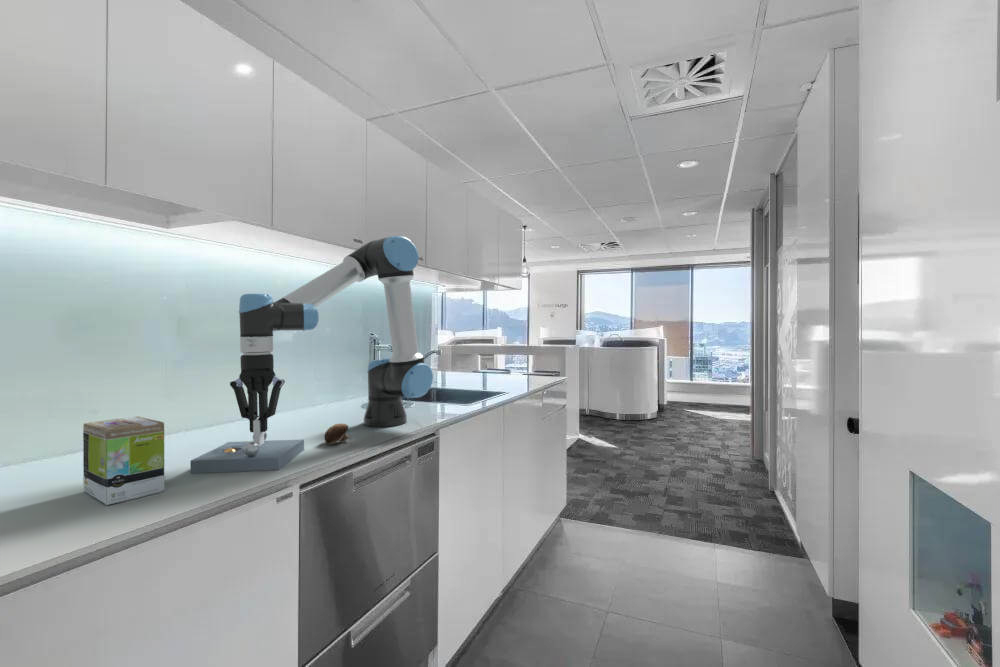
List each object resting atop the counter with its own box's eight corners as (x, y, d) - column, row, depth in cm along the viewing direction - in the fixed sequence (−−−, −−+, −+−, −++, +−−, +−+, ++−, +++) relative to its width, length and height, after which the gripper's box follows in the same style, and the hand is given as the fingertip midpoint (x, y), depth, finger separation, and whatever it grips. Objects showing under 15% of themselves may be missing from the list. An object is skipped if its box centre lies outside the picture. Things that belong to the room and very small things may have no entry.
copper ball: (239, 446, 117) (225, 448, 117) (232, 448, 114) (218, 450, 114) (240, 459, 117) (227, 461, 117) (233, 461, 114) (219, 464, 113)
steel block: (268, 440, 124) (268, 428, 124) (263, 443, 121) (263, 431, 121) (256, 441, 124) (255, 429, 124) (250, 444, 121) (250, 431, 121)
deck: (304, 450, 126) (303, 439, 126) (278, 469, 108) (278, 457, 108) (229, 452, 124) (228, 441, 124) (190, 473, 106) (190, 460, 106)
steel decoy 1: (262, 454, 111) (262, 440, 111) (256, 457, 108) (255, 443, 108) (247, 454, 111) (247, 440, 111) (241, 458, 107) (241, 444, 107)
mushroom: (359, 429, 137) (346, 414, 135) (349, 445, 130) (334, 429, 128) (340, 440, 139) (327, 425, 137) (329, 456, 132) (314, 441, 130)
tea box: (167, 491, 94) (165, 421, 94) (105, 507, 86) (104, 430, 86) (140, 478, 103) (139, 414, 103) (81, 492, 94) (80, 422, 94)
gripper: (223, 355, 112) (225, 449, 112) (277, 354, 113) (279, 447, 113) (238, 353, 119) (239, 441, 119) (288, 352, 120) (290, 440, 120)
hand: (258, 444), depth 116 cm, fingers closed
